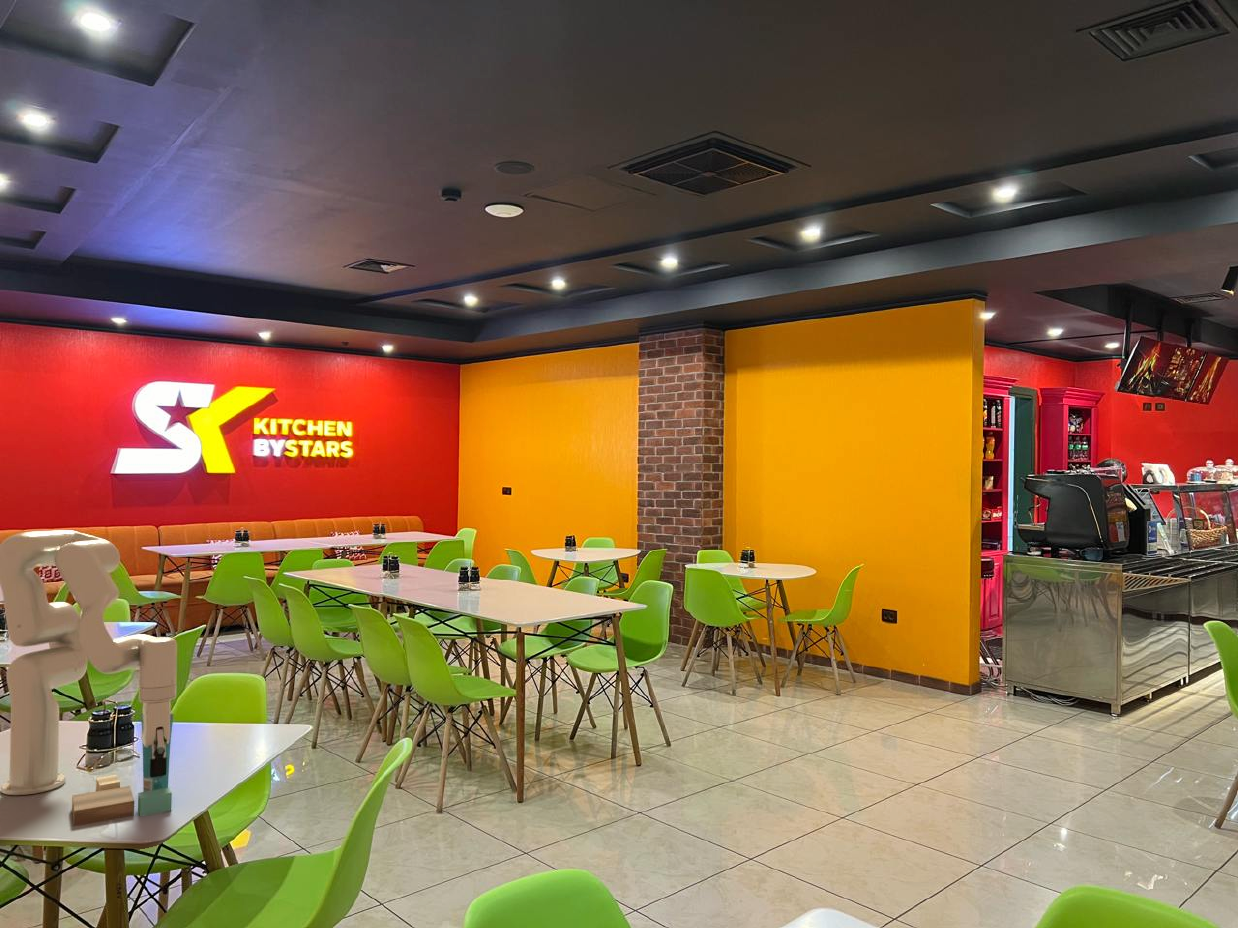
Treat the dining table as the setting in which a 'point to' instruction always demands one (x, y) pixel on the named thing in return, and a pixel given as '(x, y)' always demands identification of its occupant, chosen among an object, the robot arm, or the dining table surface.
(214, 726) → the dining table surface
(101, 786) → the beech block
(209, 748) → the dining table surface
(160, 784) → the tube
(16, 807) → the dining table surface
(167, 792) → the teal block
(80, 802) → the plinth
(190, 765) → the dining table surface
